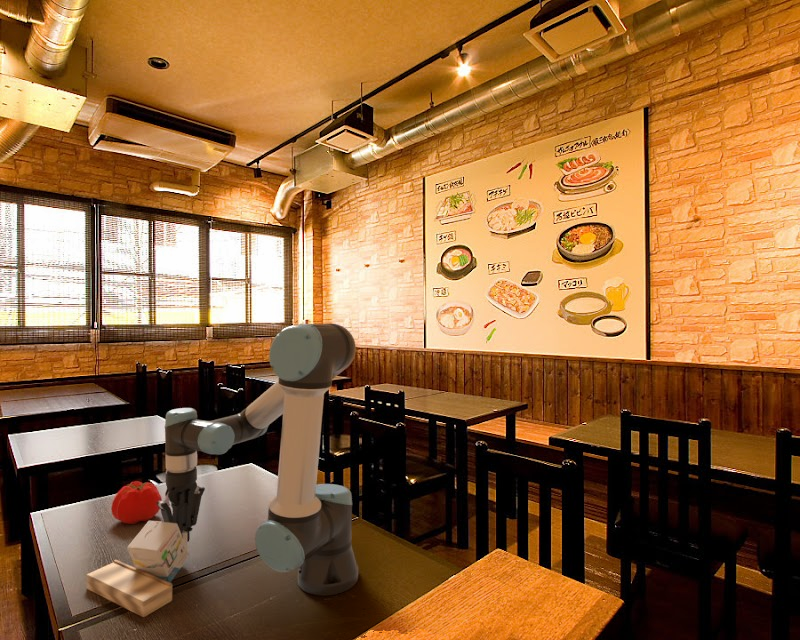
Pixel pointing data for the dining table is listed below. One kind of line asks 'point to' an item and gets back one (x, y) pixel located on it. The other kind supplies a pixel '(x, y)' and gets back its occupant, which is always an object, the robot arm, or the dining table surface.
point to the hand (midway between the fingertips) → (182, 555)
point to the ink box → (159, 550)
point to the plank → (130, 587)
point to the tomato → (136, 502)
